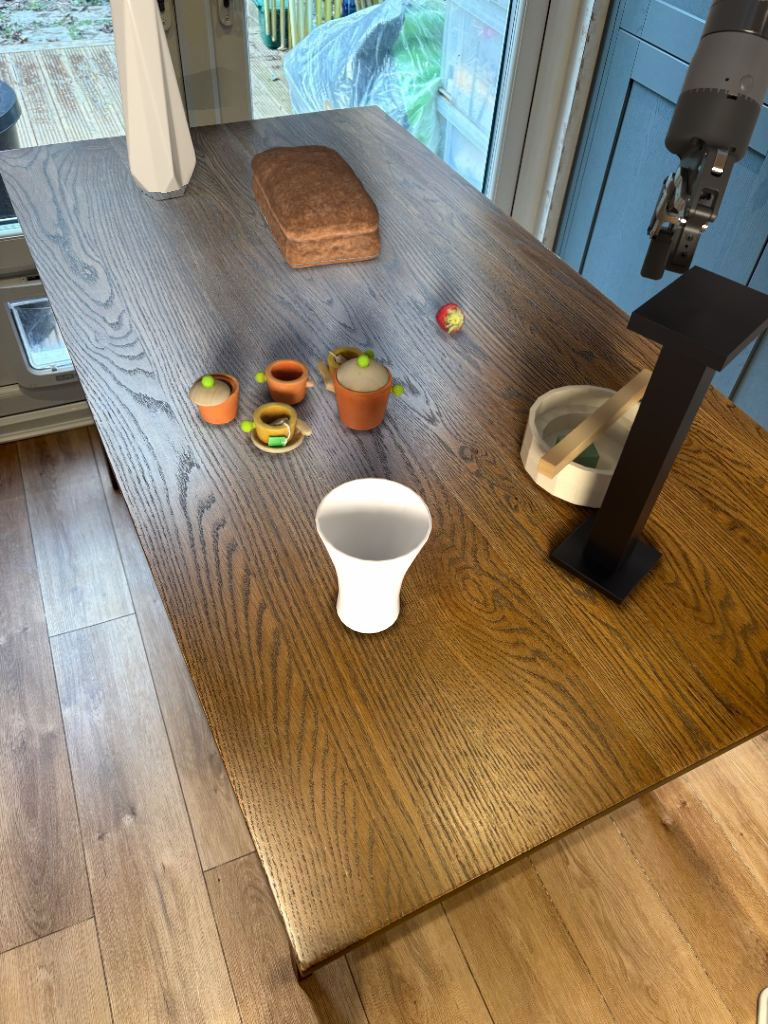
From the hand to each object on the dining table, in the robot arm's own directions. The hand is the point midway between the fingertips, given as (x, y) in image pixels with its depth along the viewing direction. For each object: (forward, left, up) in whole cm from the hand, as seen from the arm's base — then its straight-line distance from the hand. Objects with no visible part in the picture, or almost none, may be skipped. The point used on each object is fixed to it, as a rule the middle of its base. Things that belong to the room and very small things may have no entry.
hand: (661, 275), depth 74 cm
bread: (+51, -50, -27) cm, 76 cm away
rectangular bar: (+1, -1, -20) cm, 20 cm away
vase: (+81, -54, -27) cm, 101 cm away
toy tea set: (+38, 0, -27) cm, 47 cm away
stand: (-2, +15, -26) cm, 30 cm away
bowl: (+1, -1, -26) cm, 26 cm away
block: (+3, +2, -26) cm, 26 cm away
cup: (+22, +28, -27) cm, 44 cm away
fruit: (+22, -25, -27) cm, 43 cm away
